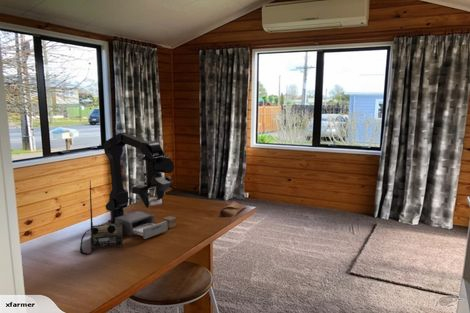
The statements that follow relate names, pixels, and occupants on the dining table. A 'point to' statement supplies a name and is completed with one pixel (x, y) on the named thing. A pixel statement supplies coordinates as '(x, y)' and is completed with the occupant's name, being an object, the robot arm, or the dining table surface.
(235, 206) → the sunglasses case
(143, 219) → the grey drawer cabinet
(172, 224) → the walnut block
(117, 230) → the radio
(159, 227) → the tray
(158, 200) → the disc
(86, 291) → the dining table surface
